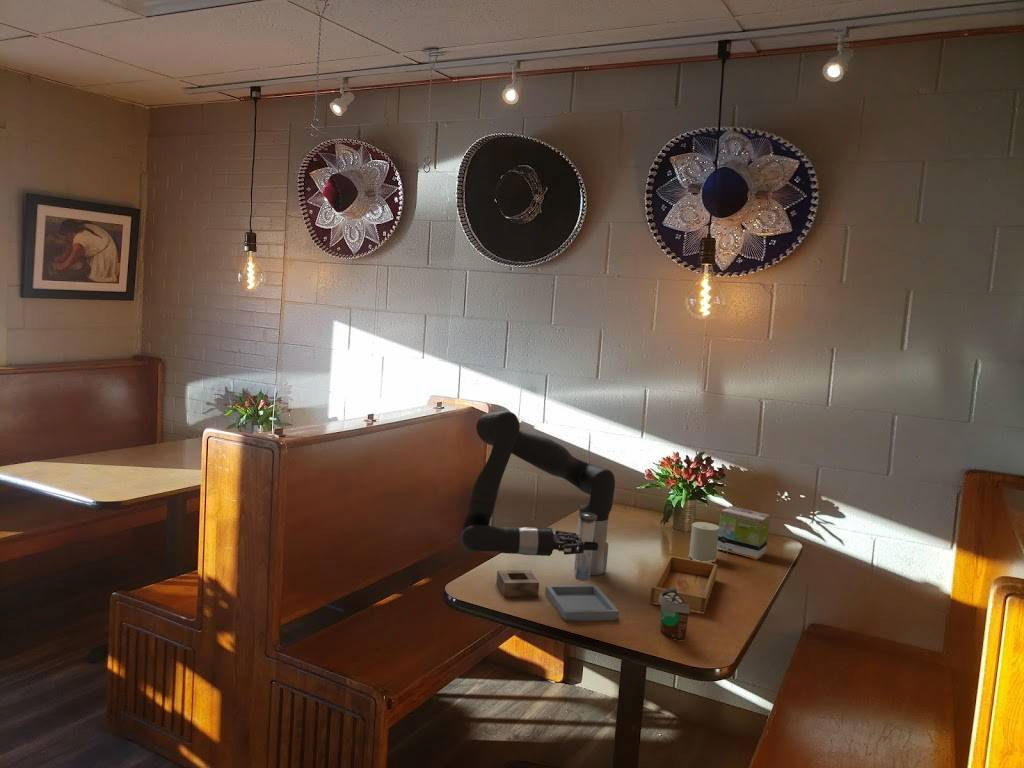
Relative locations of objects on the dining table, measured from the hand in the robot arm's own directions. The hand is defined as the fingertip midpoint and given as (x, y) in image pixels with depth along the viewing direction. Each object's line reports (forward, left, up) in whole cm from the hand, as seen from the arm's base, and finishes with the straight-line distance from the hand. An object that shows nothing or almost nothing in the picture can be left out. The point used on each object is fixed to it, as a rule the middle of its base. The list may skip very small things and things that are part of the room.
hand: (595, 543), depth 217 cm
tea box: (-71, -44, -18) cm, 86 cm away
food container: (-15, +18, -18) cm, 30 cm away
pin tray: (+3, 0, -18) cm, 18 cm away
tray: (-33, -10, -19) cm, 40 cm away
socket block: (+18, -13, -18) cm, 29 cm away
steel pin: (+3, 0, -10) cm, 10 cm away
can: (-53, -38, -18) cm, 68 cm away
